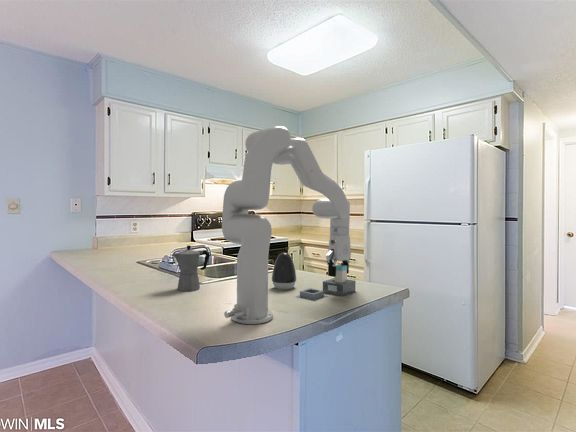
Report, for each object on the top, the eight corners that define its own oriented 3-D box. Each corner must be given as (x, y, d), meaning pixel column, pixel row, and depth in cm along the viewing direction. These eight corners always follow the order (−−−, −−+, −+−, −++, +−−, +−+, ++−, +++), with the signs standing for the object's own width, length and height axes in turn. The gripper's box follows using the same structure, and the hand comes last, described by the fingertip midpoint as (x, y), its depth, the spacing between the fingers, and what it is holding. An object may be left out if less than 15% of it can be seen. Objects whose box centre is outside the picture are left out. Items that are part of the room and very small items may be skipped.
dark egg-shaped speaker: (298, 286, 142) (299, 251, 142) (292, 292, 132) (293, 254, 132) (276, 285, 145) (276, 250, 145) (268, 290, 135) (268, 253, 135)
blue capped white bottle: (342, 292, 129) (342, 266, 129) (333, 291, 132) (334, 265, 131) (346, 290, 132) (347, 265, 132) (338, 289, 134) (339, 264, 134)
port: (342, 297, 125) (342, 285, 125) (322, 293, 131) (322, 281, 131) (355, 292, 133) (355, 280, 133) (335, 288, 139) (336, 277, 139)
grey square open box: (314, 302, 118) (314, 295, 118) (295, 298, 124) (295, 291, 124) (328, 297, 125) (328, 290, 125) (309, 293, 131) (309, 287, 131)
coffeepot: (174, 293, 130) (174, 247, 129) (169, 288, 138) (169, 245, 137) (213, 288, 138) (213, 245, 137) (206, 284, 146) (206, 243, 145)
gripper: (336, 232, 122) (335, 279, 123) (358, 231, 136) (357, 273, 136) (319, 231, 127) (318, 276, 127) (342, 230, 141) (341, 270, 141)
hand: (338, 274), depth 132 cm, fingers open, 9 cm apart
